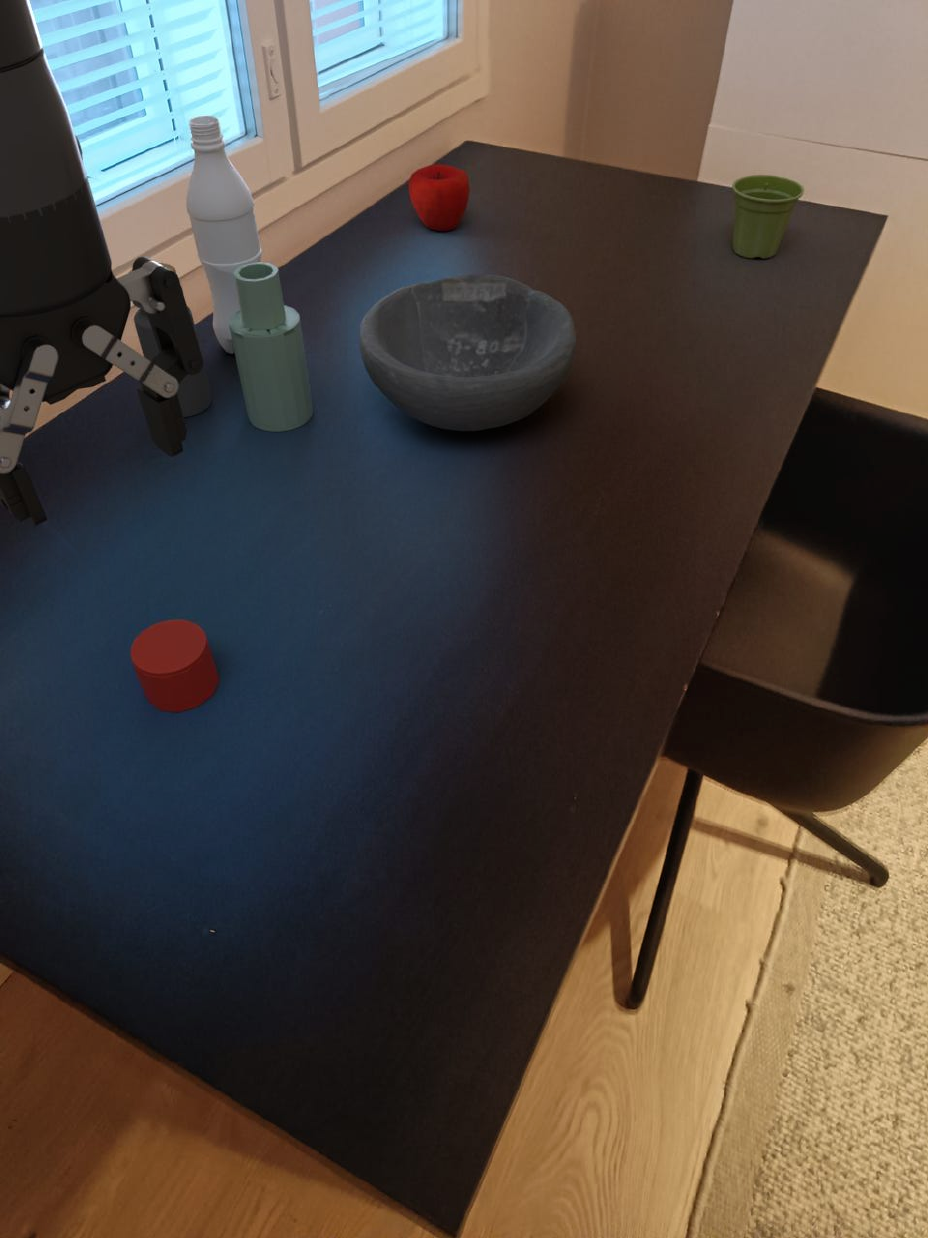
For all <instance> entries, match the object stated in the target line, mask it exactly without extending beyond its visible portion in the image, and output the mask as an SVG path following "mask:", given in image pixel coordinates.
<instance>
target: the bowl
mask: <svg viewBox="0 0 928 1238" xmlns="http://www.w3.org/2000/svg"><path fill="white" fill-rule="evenodd" d="M576 346H577V332H576V326H575V321H574V320H573V316H572V315H571V313H570V312H569V310H568V309H567V307H565V305H563V304H562V303H561V302H560V301H558V300H557V299H555V298H553V297H551V296H550V295H549V294H547V293H545V292H543V291H541V290H534V289H533V288H531V287H530V286H528V285H526V284H525V283H522V282H520V281H518V280H515V279H513V278H511V277H507V276H504V275H497V274H479V273H474V272H473V273H466V274H461V275H459V274H458V275H449V276H446V277H445V276H444V277H442V278H439V279H436V280H431V281H424V282H416V283H413V284H411V285H404V286H403V287H401V288H398V289H396V290H394V291H392V292H390V293H388V294H387V295H385V296H383V297H381V298H380V299H379V300H378V301H377V302H376V303H374V304H373V305H372V306H371V307H370V309H369V310H368V311H367V312H366V314H365V315H364V317H363V319H361V322H360V326H359V352H360V357H361V361H362V364H363V366H364V369H365V370H366V373H367V374H368V377H369V378H370V380H371V382H372V383H373V384H374V385H375V387H376V388H377V389H378V390H379V392H380V393H381V394H382V395H383V396H384V397H385V398H386V399H387V400H389V402H391V403H392V404H393V405H394V406H395V407H396V408H398V409H399V410H400V411H401V412H404V413H405V414H407V415H408V416H409V417H412V418H413V419H415V420H417V421H419V422H422V423H424V424H426V425H429V426H432V427H435V428H439V429H443V430H449V431H456V432H457V431H458V432H478V431H483V430H489V429H490V430H491V429H494V428H499V427H504V426H508V425H510V424H513V423H515V422H518V421H520V420H522V419H524V418H526V417H528V416H530V415H531V414H532V413H534V412H535V411H536V410H538V409H539V408H540V407H541V406H542V405H544V404H545V403H546V402H547V401H548V400H549V399H550V398H551V396H552V395H554V393H555V392H556V391H557V389H558V388H559V386H560V385H561V384H562V383H563V381H564V380H565V378H566V377H567V375H568V373H569V371H570V368H571V366H572V364H573V360H574V356H575V352H576Z"/></svg>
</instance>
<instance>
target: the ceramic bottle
mask: <svg viewBox="0 0 928 1238" xmlns="http://www.w3.org/2000/svg"><path fill="white" fill-rule="evenodd" d="M233 274H234V279H235V284H236V289H237V294H238V300H239V305H240V310H241V311H239V312H237V313H235V314H234V315H233V316H232V317H231V318H230V322H229V328H230V332H231V337H232V342H233V347H234V352H235V353H234V357H235V362H236V366H237V371H238V375H239V380H240V386H241V390H242V395H243V400H244V404H245V409H246V413H247V416H248V421H249V422H250V423H251V425H252V426H254V427H255V428H256V429H259V430H261V431H265V432H272V433H281V432H287V431H292V430H295V429H298V428H300V427H302V426H304V425H305V424H306V423H308V422H309V421H310V420H311V418H312V417H313V414H314V408H313V398H312V391H311V384H310V378H309V371H308V364H307V357H306V350H305V342H304V337H303V336H304V335H303V330H302V324H301V315H300V314H299V312H297V310H296V309H295V308H293V307H290V306H288V305H285V303H284V297H283V291H282V290H283V289H282V284H281V278H280V271H279V269H278V267H277V265H275V264H272V263H270V262H263V261H262V262H261V261H260V262H254V263H248V264H244V265H242V266H240V267H238V268H237V269H236V270H235V271H234V273H233Z"/></svg>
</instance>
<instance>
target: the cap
mask: <svg viewBox="0 0 928 1238" xmlns="http://www.w3.org/2000/svg"><path fill="white" fill-rule="evenodd" d="M212 654H213V653H212V651H211V648H210V644H209V641H208V638H207V635H206V632H205V631H204V629H203V628H202V627H201V626H200V625H198V624H197V623H195V622H193V621H190V620H186V619H178V618H177V619H167V620H164V621H158V622H157V623H154V624H152V625H150V626H149V627H147V628H145V629H144V630H143V631H141V632H140V634H138V636H137V637H135V639H134V640H133V642H132V645H131V648H130V658H131V661H132V665H133V668H134V671H135V674H136V676H137V678H138V680H139V684H140V685H141V688H142V691H143V693H144V695H145V698H146V700H147V702H148V703H150V704H151V705H152V706H153V707H155V708H156V709H157V710H159V711H163V712H171V713H181V712H185V711H187V710H191V709H195V708H198V707H199V706H201V705H203V704H204V703H205V702H206V701H207V700H208V699H210V698H211V697H212V696H213V695H214V693H215V691H216V689H217V687H218V684H219V682H220V678H219V673H218V670H217V667H216V664H215V661H214V657H213V655H212Z"/></svg>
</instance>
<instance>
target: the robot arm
mask: <svg viewBox="0 0 928 1238" xmlns="http://www.w3.org/2000/svg"><path fill="white" fill-rule="evenodd" d="M68 110H69V109H68V108H67V105H66V101H65V99H64V96H63V94H62V92H61V90H60V87H59V85H58V83H57V80H56V79H55V76H54V74H53V72H52V69H51V66H50V64H49V61H48V57H47V55H46V52H45V49H44V48H43V43H42V39H41V36H40V32H39V28H38V26H37V23H36V19H35V15H34V13H33V9H32V5H31V2H30V0H0V505H1V506H2V507H3V508H4V509H5V510H6V511H7V512H8V513H10V514H11V515H12V516H13V517H14V518H15V519H16V520H18V521H19V522H21V523H22V522H23V521H25V520H26V521H27V522H28V523H29V524H30V525H32V526H33V527H36V526H39V525H41V524H43V523H44V522H47V521H48V517H47V515H46V513H45V510H44V508H43V506H42V503H41V500H40V499H39V496H38V494H37V491H36V489H35V487H34V485H33V482H32V480H31V478H30V475H29V473H28V471H27V468H26V466H25V465H24V464H23V463H21V462H20V461H19V457H20V454H21V451H22V447H23V444H24V440H25V437H26V435H27V434H29V433H31V432H33V430H34V428H35V425H36V422H37V419H38V415H39V412H40V409H41V406H42V403H45V402H46V403H47V404H48V405H50V406H52V405H54V404H57V403H59V402H61V401H63V400H65V399H67V398H68V397H69V396H70V395H72V394H73V393H74V392H76V391H77V390H81V389H87V388H93V387H96V386H97V385H100V384H102V383H105V382H107V378H106V376H107V375H108V374H109V372H111V370H112V369H113V367H116V368H117V369H119V370H121V371H122V372H123V373H125V374H127V375H129V376H130V377H131V378H133V379H135V380H136V381H138V382H140V385H141V386H140V387H138V388H136V391H137V394H138V398H139V400H140V405H141V408H142V411H143V412H142V413H143V414H144V418H145V421H146V425H147V427H148V431H149V434H150V439H151V440H152V442H153V444H154V446H155V447H157V448H158V450H160V451H162V452H163V453H165V454H166V455H168V456H169V457H171V458H173V457H174V456H177V455H179V454H180V453H182V452H184V447H183V443H182V442H184V441H185V440H186V439H187V432H188V430H187V427H186V424H185V420H184V417H183V416H182V411H181V408H180V404H179V400H178V396H177V391H178V388H179V383H180V382H181V381H182V380H183V379H184V378H185V377H186V376H187V375H188V374H190V375H195V374H197V373H199V372H200V371H201V369H202V367H203V362H204V359H203V355H201V354H202V351H201V352H200V350H201V347H200V348H199V345H200V344H199V345H198V342H197V338H196V335H195V332H194V328H193V325H192V321H191V318H190V315H189V311H188V308H187V306H188V305H187V301H186V298H185V295H184V290H183V287H182V285H181V281H180V279H179V276H178V274H177V272H176V273H175V272H173V271H172V270H170V269H168V268H166V267H164V266H162V265H160V264H158V263H159V262H156V261H155V260H153V259H151V258H149V257H147V256H139V257H137V258H136V259H135V260H134V261H133V264H132V266H131V267H132V268H131V270H132V272H130V273H129V272H127V273H126V274H123V275H121V276H119V277H116V276H115V273H114V272H113V268H112V265H113V262H112V257H111V254H110V251H109V247H108V243H107V240H106V237H105V233H104V230H103V226H102V223H101V220H100V216H99V212H98V210H97V206H96V202H95V200H94V199H95V198H94V195H93V192H92V188H91V185H90V182H89V181H90V180H89V178H88V175H87V171H86V168H85V165H84V157H83V148H82V145H81V143H80V140H79V138H78V136H77V135H76V134H75V129H74V127H73V123H72V120H71V117H70V113H69V111H68ZM181 287H182V288H181ZM182 290H183V291H182ZM132 301H134V303H135V304H136V306H137V307H136V306H135V307H136V308H138V307H139V308H138V309H140V308H141V309H142V310H144V311H146V313H147V316H148V319H149V322H150V325H151V328H152V331H153V334H154V337H155V340H156V343H157V346H158V349H159V352H160V353H159V354H158V355H157V356H156V357H154V358H153V359H152V360H151V361H149V360H148V359H146V358H145V357H144V355H143V354H141V353H139V352H137V350H134V349H133V348H132V347H130V346H129V345H127V344H126V343H124V342H123V341H122V338H123V336H124V335H123V334H124V333H125V328H126V326H127V322H128V318H129V315H130V311H131V306H132ZM11 391H12V394H10V393H11ZM10 395H11V397H10Z"/></svg>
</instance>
